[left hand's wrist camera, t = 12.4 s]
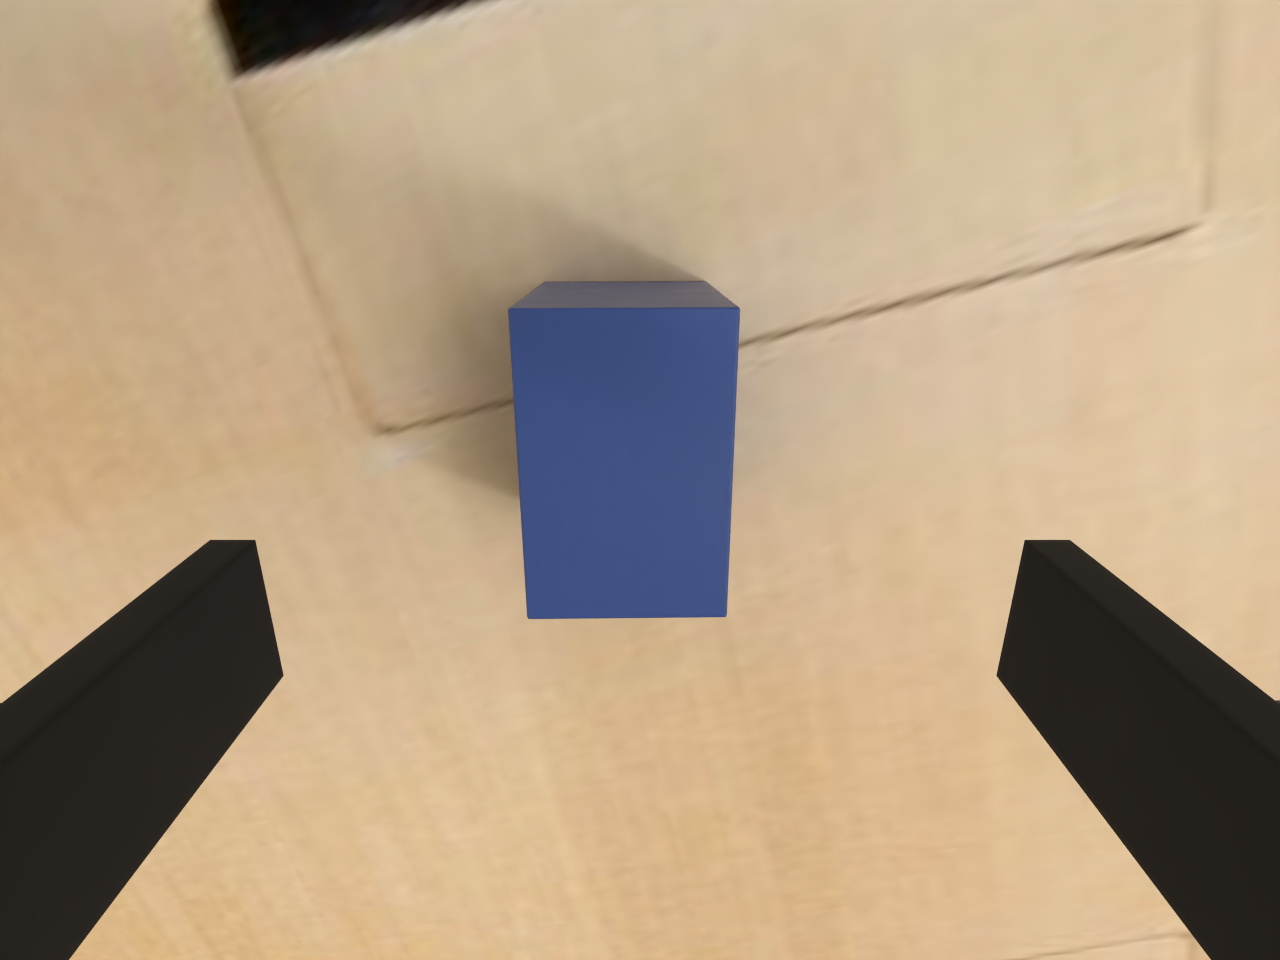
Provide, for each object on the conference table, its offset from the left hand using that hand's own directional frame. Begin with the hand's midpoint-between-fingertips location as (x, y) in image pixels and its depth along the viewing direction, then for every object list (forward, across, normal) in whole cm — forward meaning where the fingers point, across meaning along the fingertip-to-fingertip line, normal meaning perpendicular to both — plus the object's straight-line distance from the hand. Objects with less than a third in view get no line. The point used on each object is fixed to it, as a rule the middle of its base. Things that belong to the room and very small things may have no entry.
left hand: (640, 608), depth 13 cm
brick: (+16, 0, -1) cm, 17 cm away
